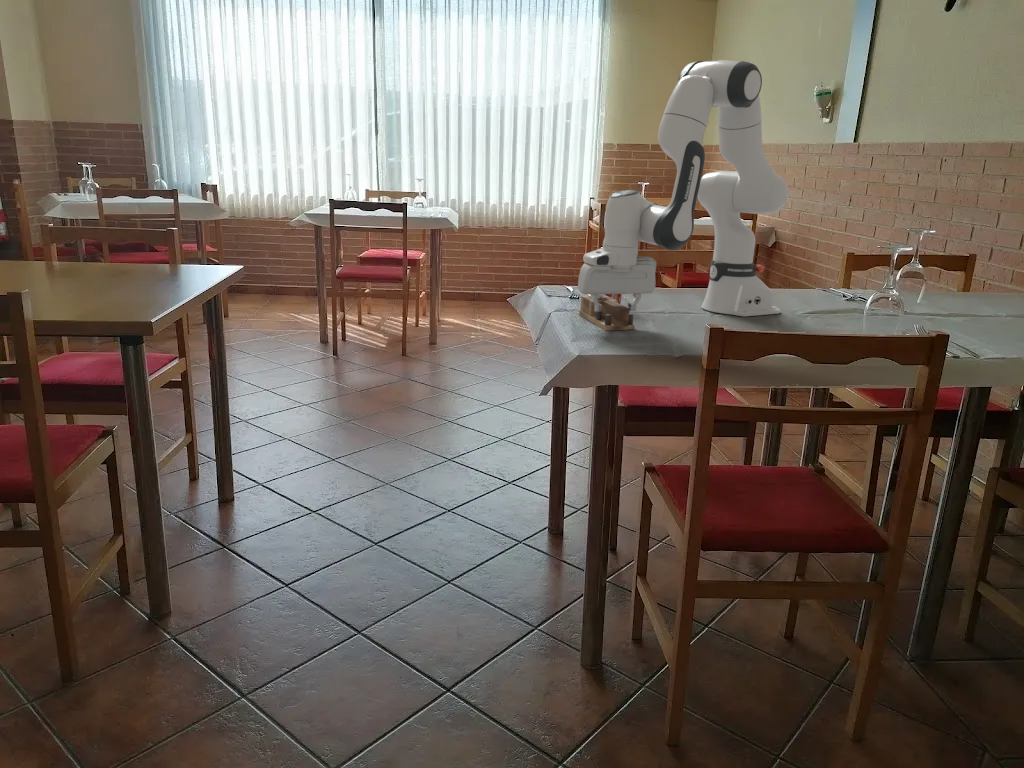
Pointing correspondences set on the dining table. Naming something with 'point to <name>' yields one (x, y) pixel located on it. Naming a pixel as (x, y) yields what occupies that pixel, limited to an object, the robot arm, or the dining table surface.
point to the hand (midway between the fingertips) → (614, 310)
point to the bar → (616, 313)
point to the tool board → (601, 323)
